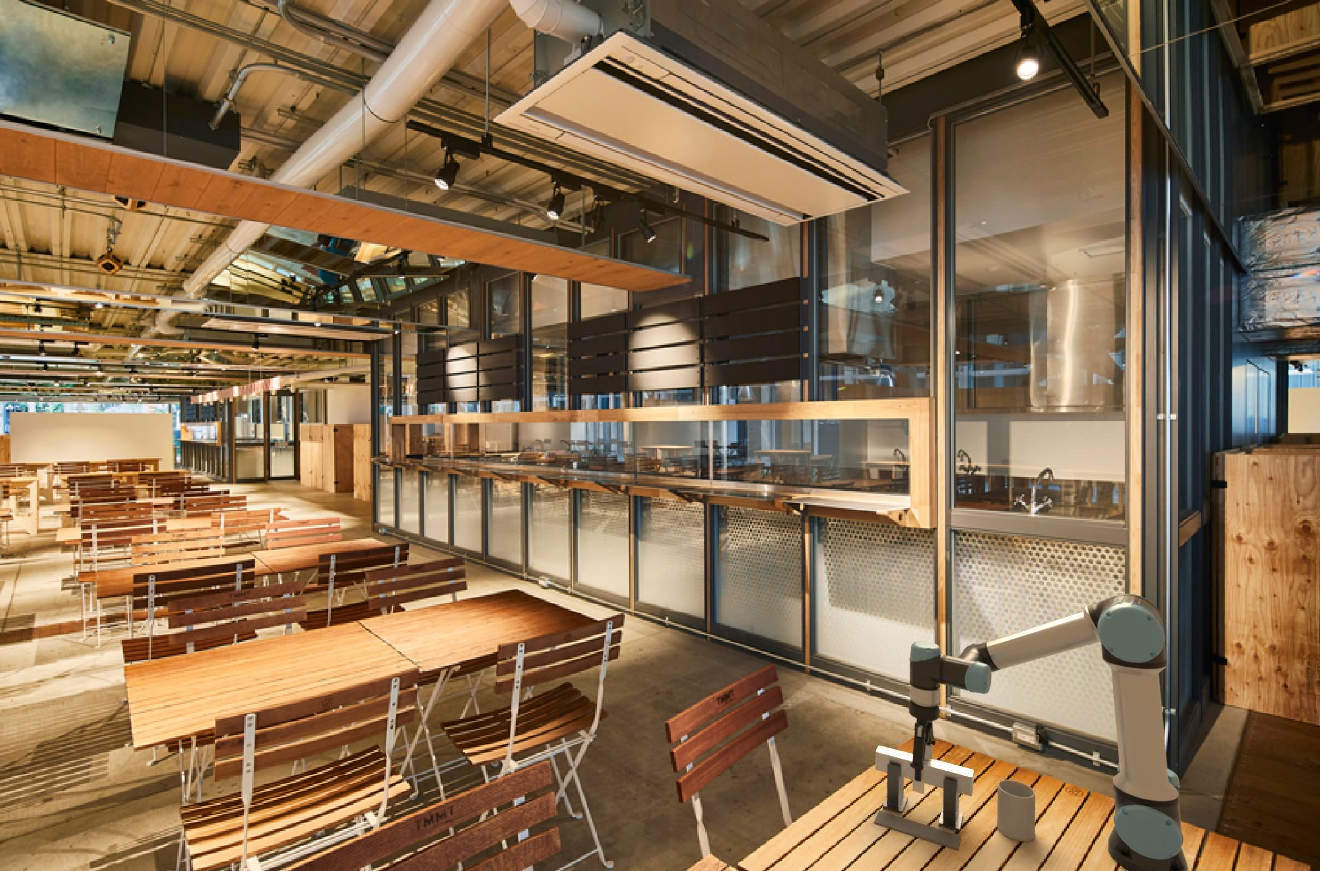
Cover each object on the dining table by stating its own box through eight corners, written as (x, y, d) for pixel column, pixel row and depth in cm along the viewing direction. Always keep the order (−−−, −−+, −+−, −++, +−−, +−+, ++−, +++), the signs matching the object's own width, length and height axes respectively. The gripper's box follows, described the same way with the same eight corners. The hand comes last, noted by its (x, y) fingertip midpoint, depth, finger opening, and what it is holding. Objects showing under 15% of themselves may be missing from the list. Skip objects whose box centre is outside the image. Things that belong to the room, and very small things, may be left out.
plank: (960, 837, 160) (960, 835, 160) (958, 850, 155) (958, 848, 155) (879, 811, 170) (879, 810, 170) (874, 823, 165) (874, 821, 165)
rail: (973, 788, 165) (973, 769, 165) (971, 796, 162) (971, 776, 162) (878, 763, 178) (878, 745, 178) (875, 769, 175) (875, 751, 174)
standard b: (907, 799, 176) (908, 756, 176) (902, 814, 169) (902, 769, 169) (888, 794, 178) (889, 751, 178) (882, 808, 172) (883, 764, 171)
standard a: (963, 816, 168) (963, 771, 168) (959, 832, 162) (960, 785, 162) (942, 810, 171) (943, 765, 171) (938, 825, 164) (939, 779, 164)
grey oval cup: (1041, 843, 158) (1041, 799, 158) (1005, 840, 159) (1006, 796, 159) (1019, 814, 170) (1020, 773, 170) (986, 811, 171) (986, 771, 171)
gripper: (917, 682, 182) (915, 755, 183) (900, 715, 161) (898, 797, 161) (945, 688, 179) (944, 763, 179) (932, 722, 157) (930, 807, 157)
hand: (922, 779), depth 170 cm, fingers open, 13 cm apart
